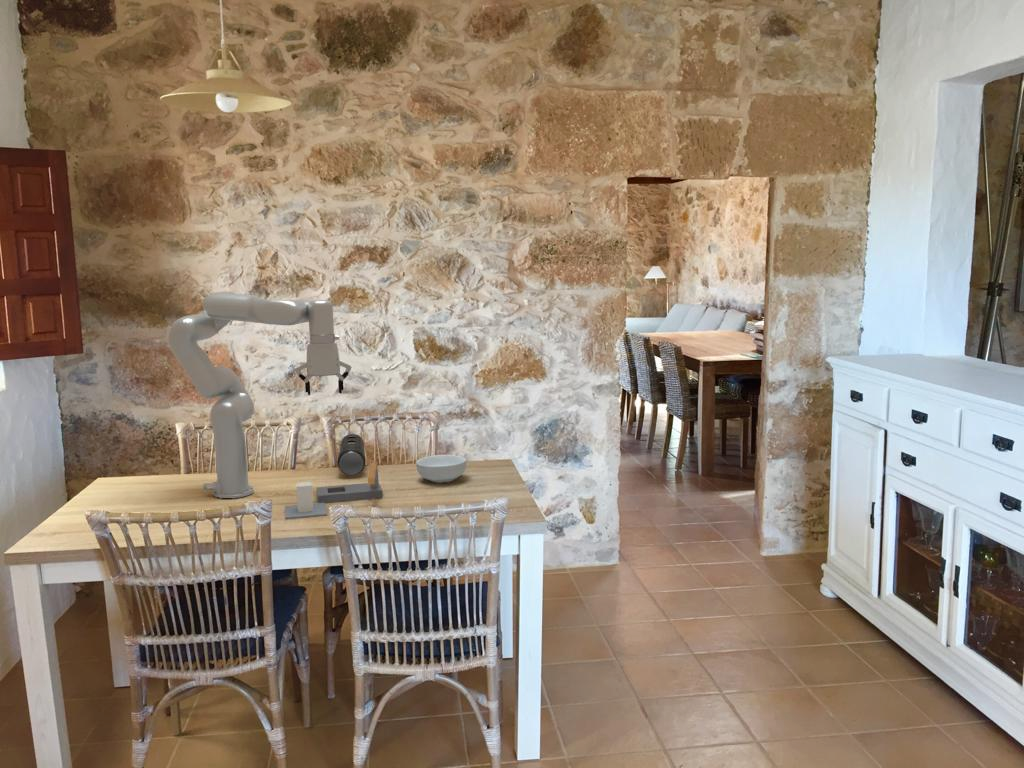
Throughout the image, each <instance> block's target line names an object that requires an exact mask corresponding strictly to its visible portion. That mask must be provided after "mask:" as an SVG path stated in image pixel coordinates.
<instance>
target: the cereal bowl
mask: <svg viewBox="0 0 1024 768" xmlns="http://www.w3.org/2000/svg"><path fill="white" fill-rule="evenodd" d="M415 463H416V469H417V473H418V474H419V476H421V477H422V478H423V479H425V480H427V481H428V480H429V481H430V482H431V481H432V483H434V482H436V483H435V484H443V483H442V482H447V483H450V481H451V482H453V481H454V480H455V479H457V478H459V477H461V476H462V475H463V474H464V473H465V470H466V469H467V458H466V457H464V456H460V455H454V454H436V455H429V456H425V457H421V458H419V459H417V461H416V462H415Z"/></svg>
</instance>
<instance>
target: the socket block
mask: <svg viewBox="0 0 1024 768" xmlns="http://www.w3.org/2000/svg"><path fill="white" fill-rule="evenodd" d="M378 470H379V469H378V468H377V469H376V475H375V482H374V484H368V482H364V483H354V484H353V483H352V484H341V485H330V486H318V487H316V497H317V503H324V502H325V504H328V503H329V504H330V503H331V504H332V503H338V502H339V503H340V502H341V503H342V502H350V501H353V502H354V501H364V500H372V498H376V499H383V498H384V497H383V496H384V494H383V488H382V486H381V484H380V482H379V471H378ZM382 497H383V498H382ZM363 499H364V500H363Z"/></svg>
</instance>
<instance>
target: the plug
mask: <svg viewBox="0 0 1024 768" xmlns="http://www.w3.org/2000/svg"><path fill="white" fill-rule="evenodd" d="M296 497H297V498H296V500H297V502H296V503H297V505H298V513H300V512H311V511H313V503H314V501H313V500H314V498H313V485H312V481H303V482H296Z"/></svg>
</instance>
